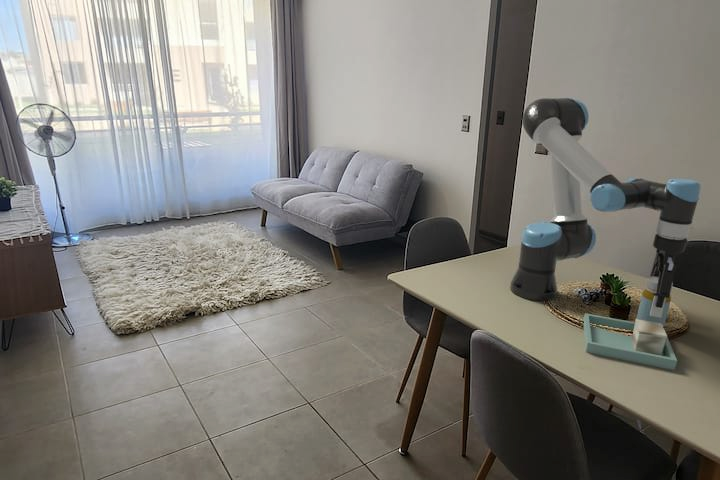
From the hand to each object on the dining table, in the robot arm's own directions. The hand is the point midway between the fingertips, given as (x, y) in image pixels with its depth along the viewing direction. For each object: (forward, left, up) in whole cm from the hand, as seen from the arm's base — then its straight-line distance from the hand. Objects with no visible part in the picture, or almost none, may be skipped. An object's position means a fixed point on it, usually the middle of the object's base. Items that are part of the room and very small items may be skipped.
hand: (653, 310), depth 134 cm
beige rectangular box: (-3, -15, -5) cm, 16 cm away
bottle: (0, 0, -6) cm, 6 cm away
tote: (-8, -15, -6) cm, 18 cm away
